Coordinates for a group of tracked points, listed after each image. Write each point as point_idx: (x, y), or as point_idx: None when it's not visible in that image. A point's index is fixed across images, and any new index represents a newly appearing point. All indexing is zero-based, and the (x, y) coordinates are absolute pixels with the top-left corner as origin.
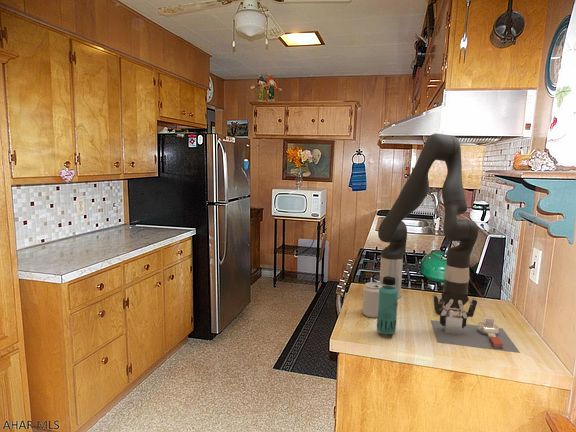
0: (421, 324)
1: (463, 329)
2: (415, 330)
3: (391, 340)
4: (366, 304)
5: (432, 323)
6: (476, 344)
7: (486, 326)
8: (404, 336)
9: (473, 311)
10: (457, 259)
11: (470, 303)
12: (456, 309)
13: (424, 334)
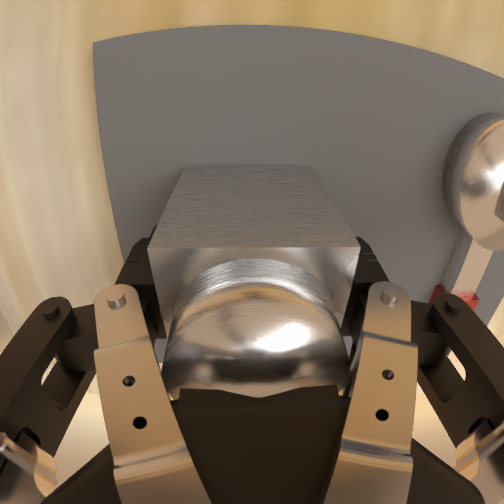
0: (43, 119)
1: (356, 157)
2: (31, 232)
3: (6, 342)
4: None
5: (105, 109)
6: (349, 339)
7: (501, 216)
8: (20, 308)
9: (453, 392)
10: None
11: (466, 458)
12: (295, 382)
13: (82, 269)
